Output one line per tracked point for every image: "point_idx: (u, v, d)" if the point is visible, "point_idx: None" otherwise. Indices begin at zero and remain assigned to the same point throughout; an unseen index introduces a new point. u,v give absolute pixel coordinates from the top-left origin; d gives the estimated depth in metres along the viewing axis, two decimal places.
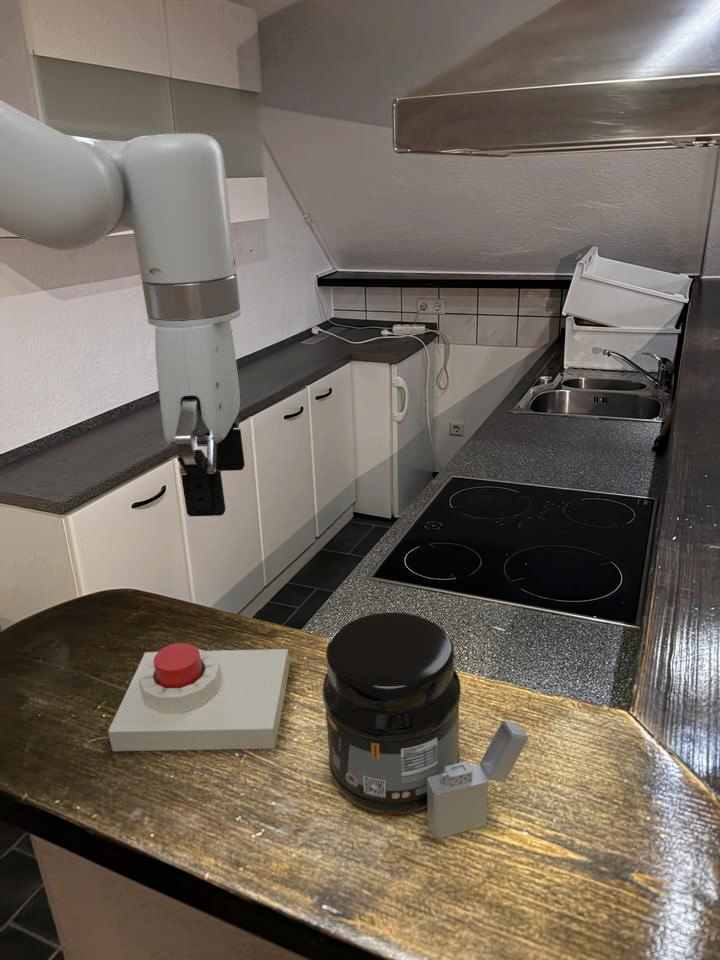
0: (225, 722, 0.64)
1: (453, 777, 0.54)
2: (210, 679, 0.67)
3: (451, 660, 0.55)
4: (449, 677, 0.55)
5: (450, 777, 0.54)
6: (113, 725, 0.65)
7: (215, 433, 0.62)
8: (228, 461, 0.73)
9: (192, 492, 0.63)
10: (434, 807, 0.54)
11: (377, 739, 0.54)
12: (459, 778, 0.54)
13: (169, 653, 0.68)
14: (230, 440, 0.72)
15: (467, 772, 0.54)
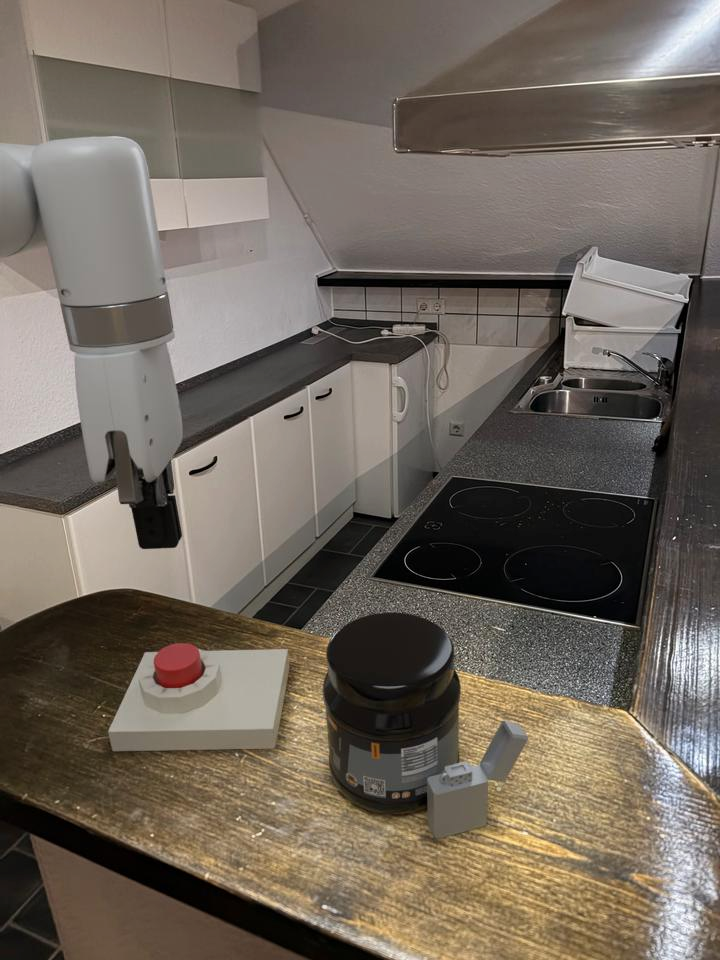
0: (225, 722, 0.64)
1: (453, 777, 0.54)
2: (210, 679, 0.67)
3: (451, 660, 0.55)
4: (449, 677, 0.55)
5: (450, 778, 0.54)
6: (113, 725, 0.65)
7: (146, 471, 0.55)
8: None
9: (143, 525, 0.61)
10: (434, 807, 0.54)
11: (378, 738, 0.54)
12: (459, 778, 0.54)
13: (169, 653, 0.68)
14: None
15: (467, 772, 0.54)
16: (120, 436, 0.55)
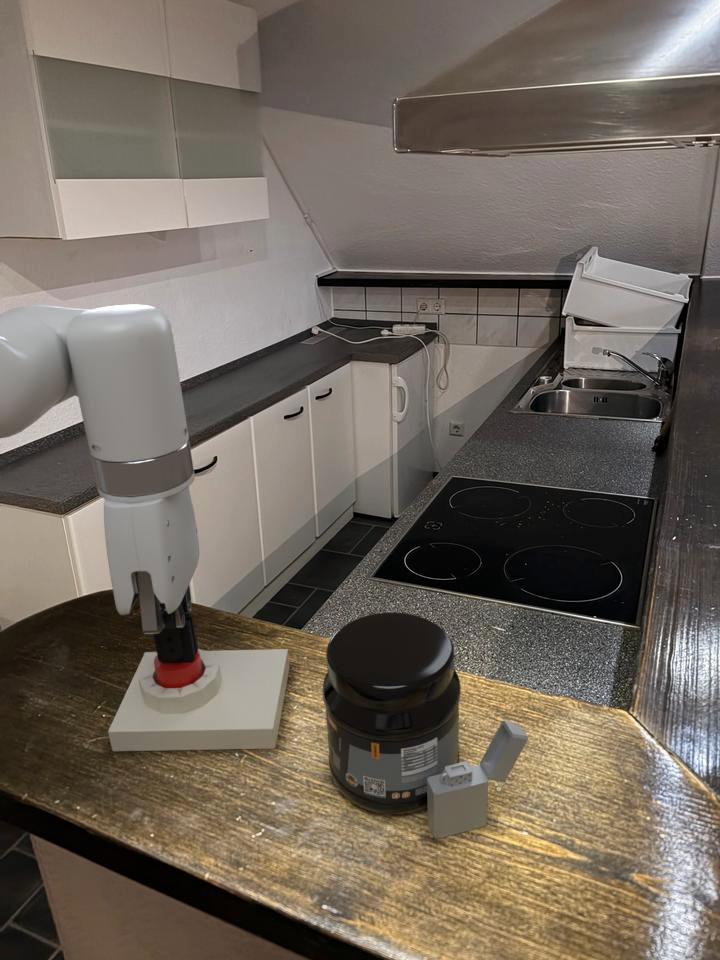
0: (225, 722, 0.64)
1: (453, 777, 0.54)
2: (210, 679, 0.67)
3: (451, 660, 0.55)
4: (449, 677, 0.55)
5: (450, 777, 0.54)
6: (113, 725, 0.65)
7: (168, 605, 0.60)
8: None
9: (162, 643, 0.65)
10: (434, 807, 0.54)
11: (378, 738, 0.54)
12: (459, 778, 0.54)
13: None
14: None
15: (467, 772, 0.54)
16: (144, 574, 0.59)
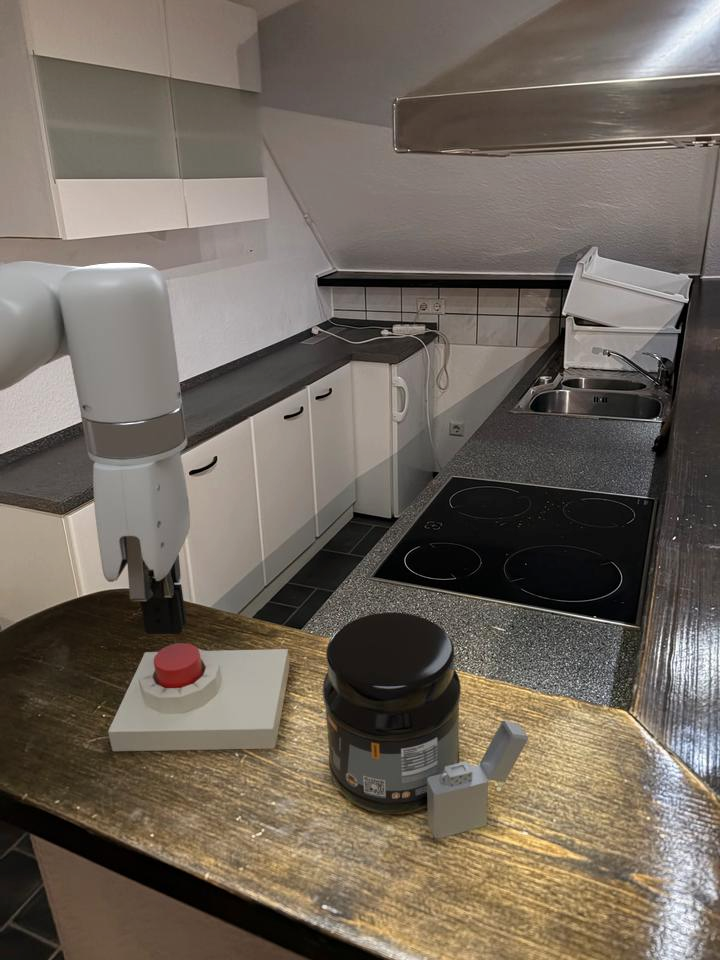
0: (225, 722, 0.64)
1: (453, 777, 0.54)
2: (210, 679, 0.67)
3: (451, 660, 0.55)
4: (449, 677, 0.55)
5: (450, 778, 0.54)
6: (113, 725, 0.65)
7: (156, 572, 0.58)
8: None
9: (150, 613, 0.64)
10: (434, 807, 0.54)
11: (378, 738, 0.54)
12: (459, 778, 0.54)
13: (169, 653, 0.68)
14: None
15: (467, 772, 0.54)
16: (133, 539, 0.58)
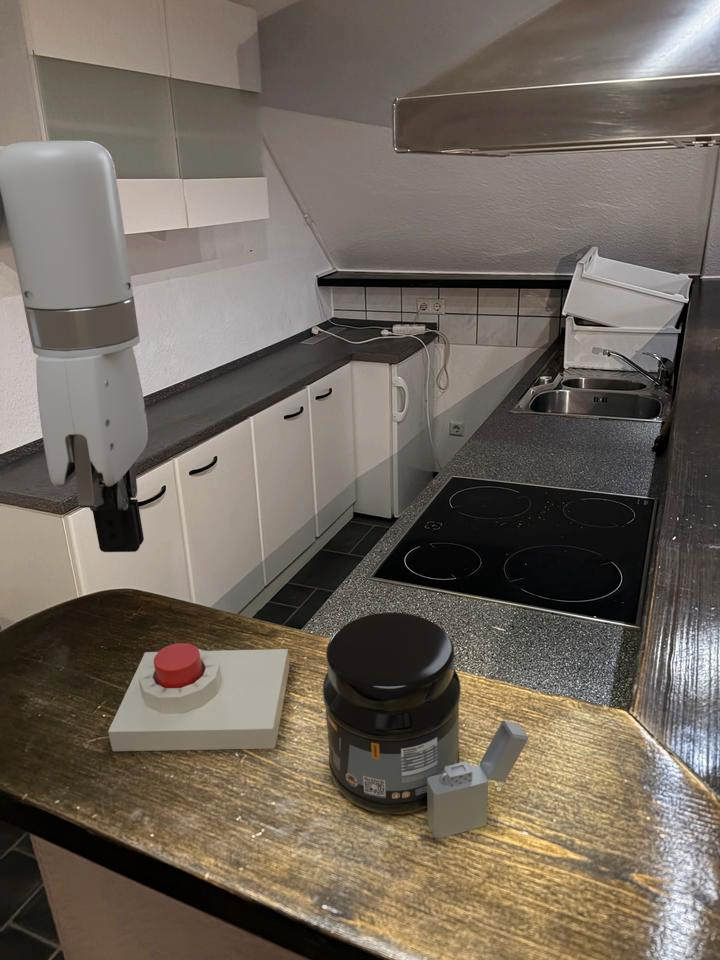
0: (225, 722, 0.64)
1: (453, 777, 0.54)
2: (210, 679, 0.67)
3: (451, 660, 0.55)
4: (449, 677, 0.55)
5: (450, 778, 0.54)
6: (113, 725, 0.65)
7: (106, 476, 0.55)
8: None
9: (103, 528, 0.61)
10: (434, 807, 0.54)
11: (378, 738, 0.54)
12: (459, 778, 0.54)
13: (169, 653, 0.68)
14: None
15: (467, 772, 0.54)
16: (81, 440, 0.55)
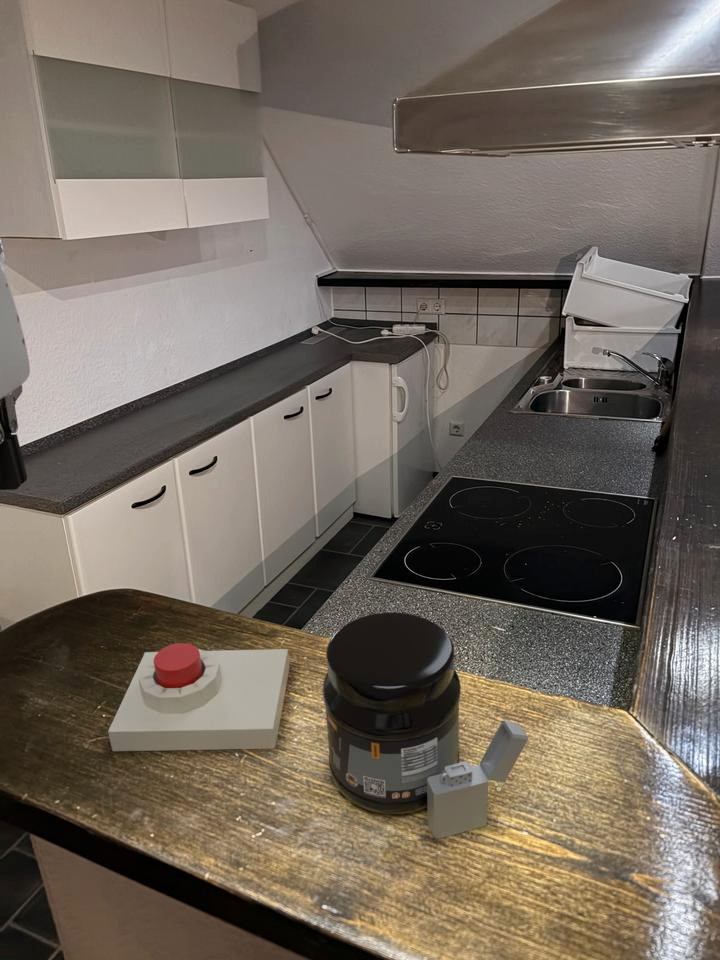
0: (225, 722, 0.64)
1: (453, 777, 0.54)
2: (210, 679, 0.67)
3: (451, 660, 0.55)
4: (449, 677, 0.55)
5: (450, 777, 0.54)
6: (113, 725, 0.65)
7: None
8: None
9: None
10: (434, 807, 0.54)
11: (378, 738, 0.54)
12: (459, 778, 0.54)
13: (169, 653, 0.68)
14: None
15: (467, 772, 0.54)
16: None
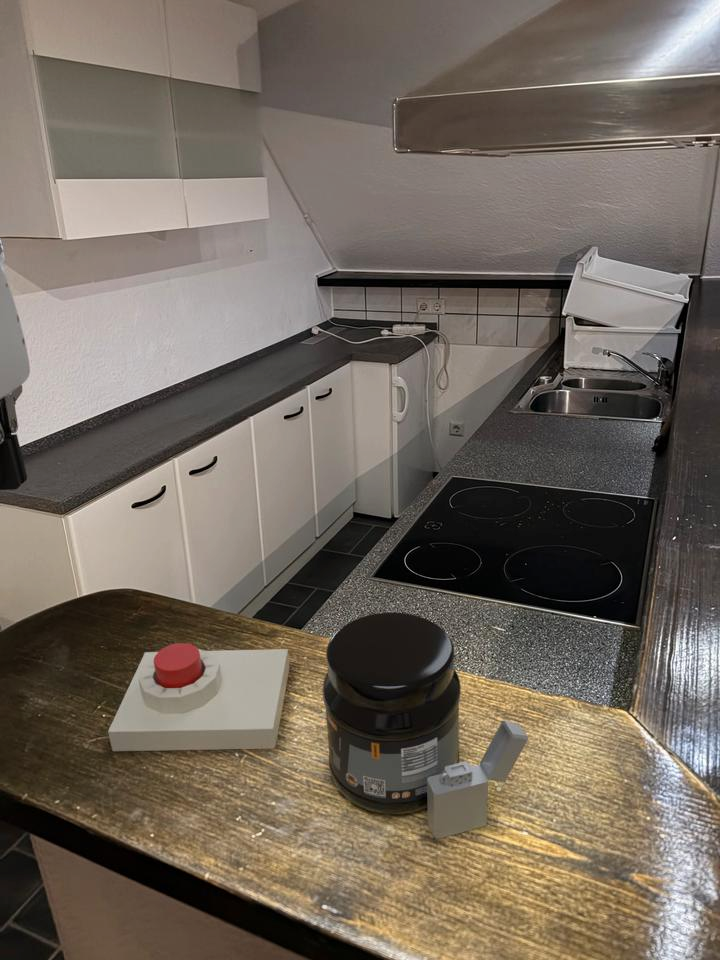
0: (225, 722, 0.64)
1: (453, 777, 0.54)
2: (210, 679, 0.67)
3: (451, 660, 0.55)
4: (449, 677, 0.55)
5: (450, 778, 0.54)
6: (113, 725, 0.65)
7: None
8: None
9: None
10: (434, 807, 0.54)
11: (378, 738, 0.54)
12: (459, 778, 0.54)
13: (169, 653, 0.68)
14: None
15: (467, 772, 0.54)
16: None
